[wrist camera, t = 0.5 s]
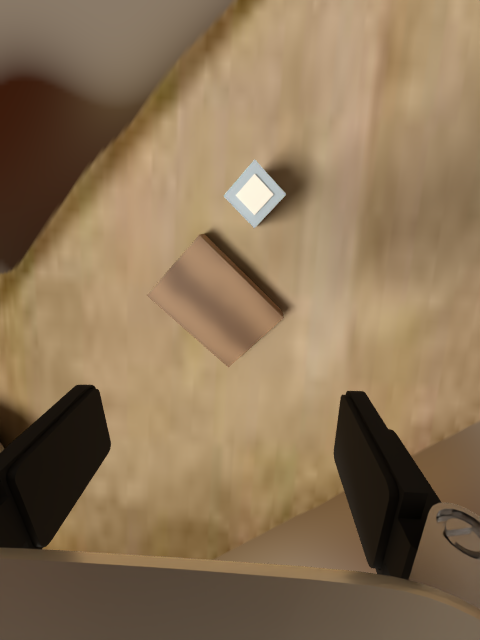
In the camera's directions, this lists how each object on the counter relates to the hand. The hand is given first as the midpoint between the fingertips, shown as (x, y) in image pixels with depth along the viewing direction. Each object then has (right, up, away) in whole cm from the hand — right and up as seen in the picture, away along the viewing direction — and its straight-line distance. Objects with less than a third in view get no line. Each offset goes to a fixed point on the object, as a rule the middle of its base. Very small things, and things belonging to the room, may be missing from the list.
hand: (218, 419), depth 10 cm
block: (+3, +18, +21) cm, 28 cm away
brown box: (-2, +7, +26) cm, 27 cm away
